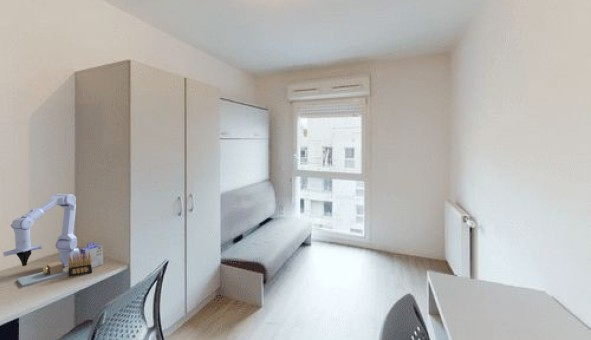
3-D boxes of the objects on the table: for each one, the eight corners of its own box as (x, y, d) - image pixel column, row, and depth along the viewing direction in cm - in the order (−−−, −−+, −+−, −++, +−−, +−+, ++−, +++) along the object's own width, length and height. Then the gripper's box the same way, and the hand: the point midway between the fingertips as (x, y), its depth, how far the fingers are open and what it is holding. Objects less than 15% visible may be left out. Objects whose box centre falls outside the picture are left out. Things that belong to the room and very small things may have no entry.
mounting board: (60, 269, 162) (59, 259, 161) (66, 274, 155) (66, 264, 154) (17, 280, 147) (16, 269, 147) (22, 287, 140) (22, 276, 140)
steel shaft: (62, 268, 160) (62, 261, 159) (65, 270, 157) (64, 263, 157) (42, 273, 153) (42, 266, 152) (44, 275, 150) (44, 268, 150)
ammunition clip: (68, 277, 152) (67, 256, 152) (68, 275, 154) (68, 255, 153) (91, 272, 158) (91, 252, 157) (92, 271, 160) (91, 251, 159)
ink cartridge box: (98, 262, 172) (97, 240, 171) (103, 264, 170) (103, 241, 169) (80, 268, 163) (79, 245, 162) (86, 270, 161) (85, 246, 160)
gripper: (4, 245, 136) (6, 272, 137) (43, 238, 147) (44, 262, 148) (1, 242, 140) (3, 268, 141) (39, 236, 152) (41, 259, 152)
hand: (24, 265), depth 145 cm, fingers closed
